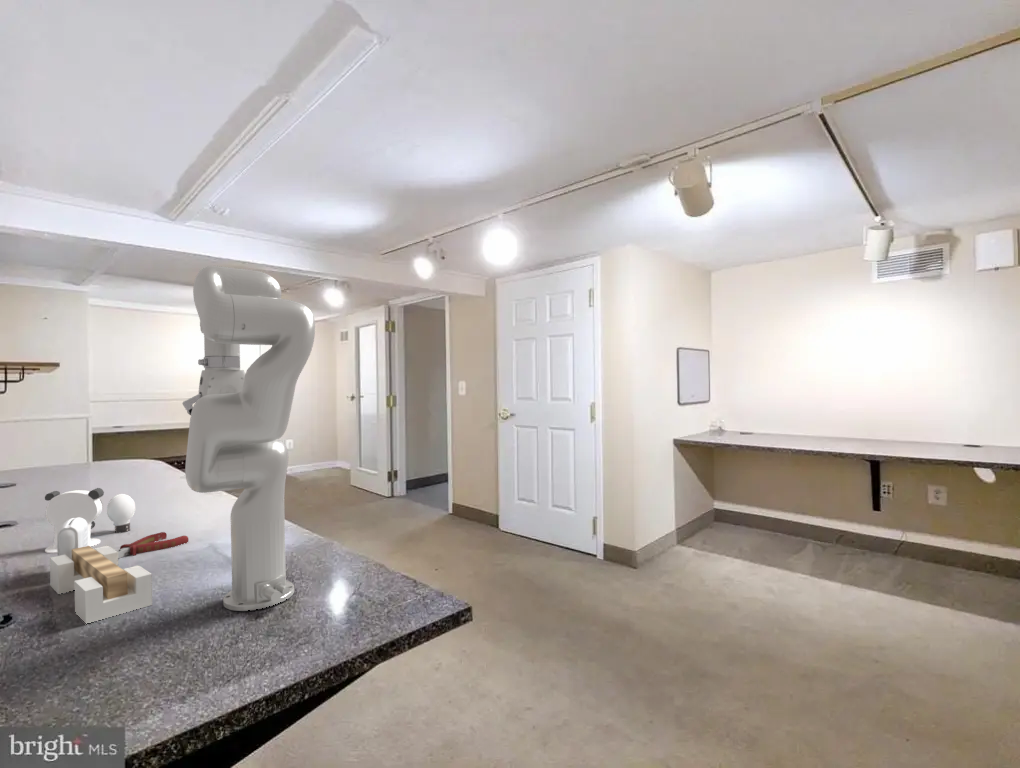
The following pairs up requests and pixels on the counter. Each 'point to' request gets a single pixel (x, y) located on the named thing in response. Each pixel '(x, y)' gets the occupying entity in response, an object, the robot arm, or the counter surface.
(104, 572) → the slat
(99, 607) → the end caps
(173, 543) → the pliers
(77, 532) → the photo printer
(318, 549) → the counter surface
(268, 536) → the robot arm
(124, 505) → the light bulb
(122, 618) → the counter surface
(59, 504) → the panda figurine
